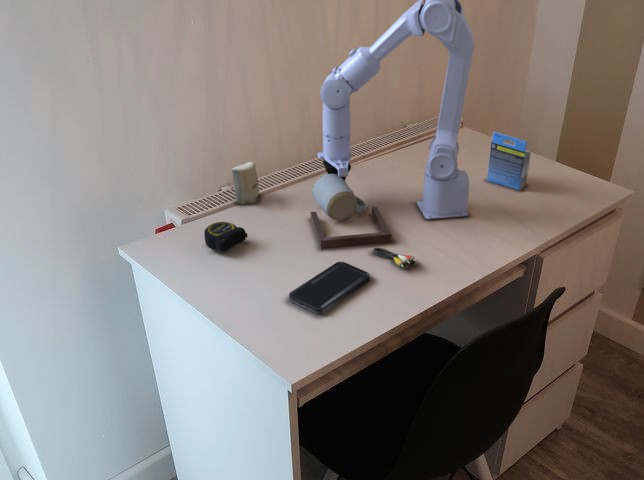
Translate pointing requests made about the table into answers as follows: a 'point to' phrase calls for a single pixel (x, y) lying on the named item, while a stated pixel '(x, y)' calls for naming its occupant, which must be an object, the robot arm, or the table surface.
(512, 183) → the label tape box
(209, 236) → the tape measure
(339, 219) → the ceramic mug
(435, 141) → the robot arm
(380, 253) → the composite cable
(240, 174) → the beige upright block
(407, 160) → the table surface
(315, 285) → the phone
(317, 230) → the frame
